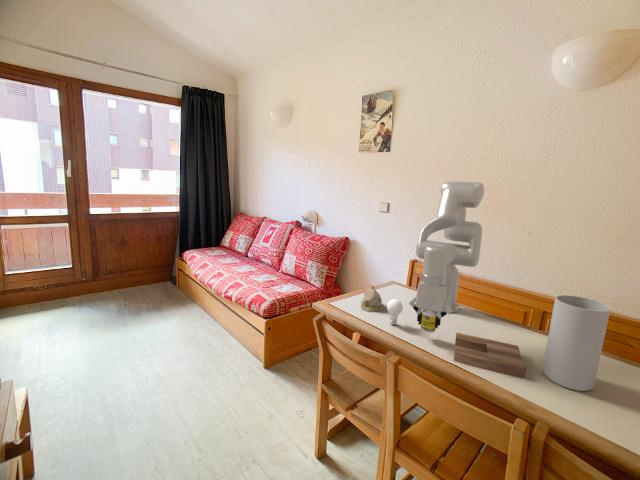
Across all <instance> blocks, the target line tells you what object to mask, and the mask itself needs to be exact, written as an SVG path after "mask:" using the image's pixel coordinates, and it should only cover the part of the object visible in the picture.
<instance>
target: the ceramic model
mask: <svg viewBox="0 0 640 480" xmlns="http://www.w3.org/2000/svg"><path fill="white" fill-rule="evenodd" d="M363 295H364V297H363V298H362V300H361V305H360V309H362V310H364V311H365V312H368V313H369V312H370V313H371V312H382V311H383V310H384V309H385V305H384V304H383V303H382V302H383V301H382V298H381V295H380V293H379V292H377V290H376V289H375V286H373V285H371V286H369V287H367V288H366V289H365V291H364V293H363ZM381 310H382V311H381Z"/></svg>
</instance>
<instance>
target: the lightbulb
mask: <svg viewBox="0 0 640 480" xmlns="http://www.w3.org/2000/svg"><path fill="white" fill-rule="evenodd" d="M403 309H404V306H403V304H402V302H401V301H400V300H399V299H397V298H392V299H390V300H389V301H388V302H387V304H386V310H387V311H388V313H389V318H390V319H389V320H390V321H389V323H390V324H391V325H392V326H394V325H397V323H398V318H399V316H400V314H401V313H402V311H403Z"/></svg>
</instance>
